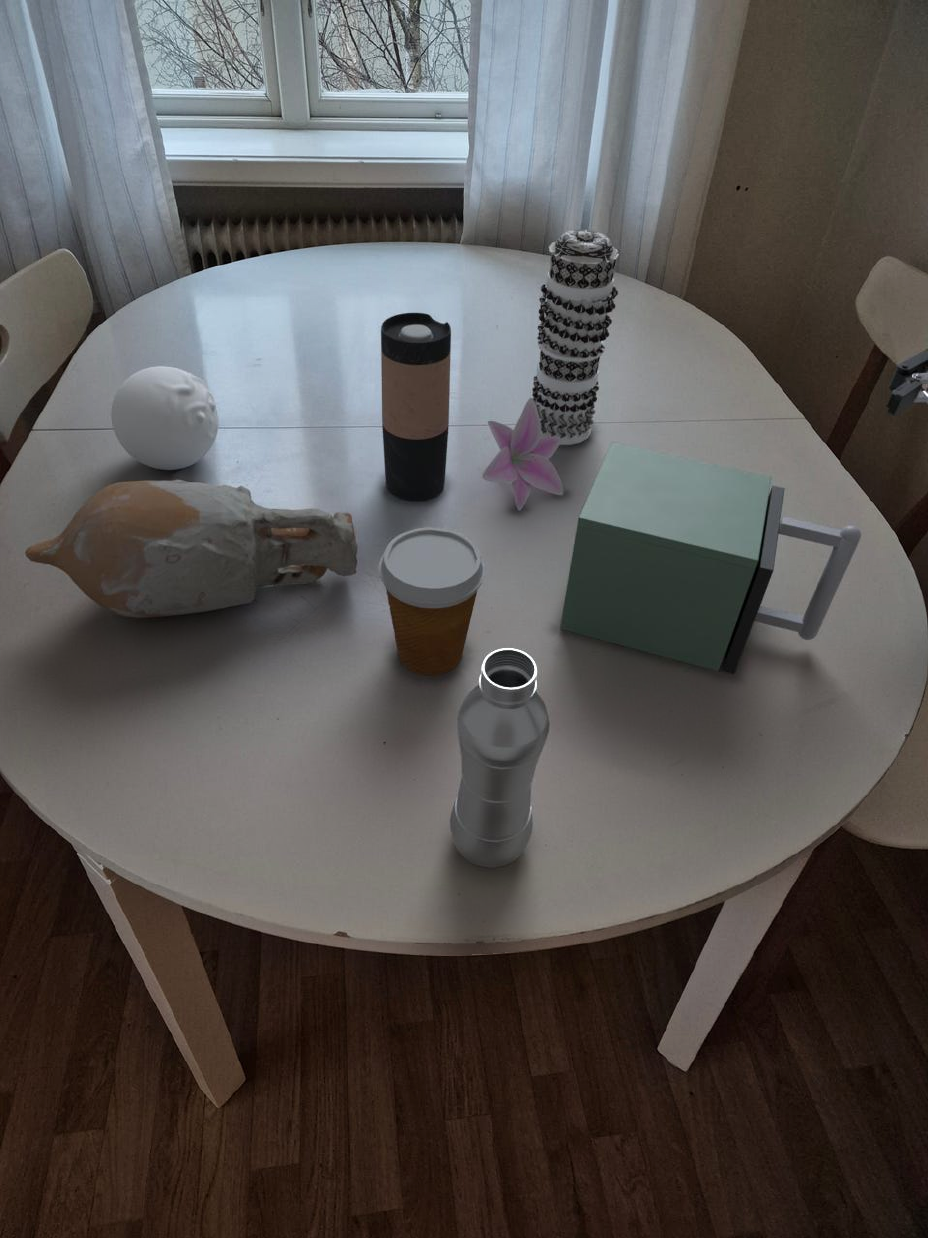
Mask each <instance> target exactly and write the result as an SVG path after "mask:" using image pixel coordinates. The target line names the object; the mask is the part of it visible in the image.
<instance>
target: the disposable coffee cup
mask: <svg viewBox="0 0 928 1238" xmlns="http://www.w3.org/2000/svg"><path fill="white" fill-rule="evenodd" d="M486 571H487V569H486V563H485V561H484V560H483V557H482V556H481V552H480V550H479V547H478V546H477V545H476V544H475V542H474V541H473V540H471V539H470V538H469V537H467V536H466V535H464V534H463V533H460V532H458V531H456V530H452V529H449V528H443V527H435V526H434V527H432V526H430V527H419V528H415V529H412V530H408V531H405V532H403V533H401V534H398V535H397V536H396V537H394V538H393V539H392V540H391V541H389V543H388V544H387V545H386V547H385V550H384V553H383V554H382V556H381V557H380V560H379V562H378V575H379V579H380V580H381V582H382V584H383V585H384V588H385V590H386V596H387V601H388V606H389V611H390V612H389V613H390V616H391V617H390V619H391V624H392V629H393V634H394V639H395V645H396V648H397V655H398V659H399V661H400V663H401V664H402V665H403V666H404V667H405V668H406V669H408V670H409V671H411V672H413V673H415V674H419V675H422V676H423V675H424V676H438V675H443V674H445V673H449V672H450V671H452V670H453V669H454V668H456V667H457V666H458V665H459V664H460V663H461V660H462V658H463V653H464V648H465V644H466V641H467V637H468V633H469V632H468V631H469V629H470V624H471V619H472V615H473V611H474V606H475V603H476V598H477V595H478V594H477V593H478V590H479V589H480V587H481V586H482V584H483V581H484V580H485V577H486Z"/></svg>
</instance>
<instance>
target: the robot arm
mask: <svg viewBox="0 0 928 1238" xmlns="http://www.w3.org/2000/svg"><path fill="white" fill-rule="evenodd" d="M923 385H928V348H925V349H924V350H922V351H920V352H918V353H917V354H914V355H912V356H911V357H909V358H907V359H905V360H903V361H901V362H900V363H898V364H897V367H896V368H895V371H894V373H893V376H892V378H891V380H890V382H889V385H888V386H887V387H888V390H889V391H891V393H890V395H889V396H890V397H889V398H888V401H887V403H886V408H888V410H887V414H888V415H890V416H892V417H894V418H895V417H896V416H898V415H900V414H901V413H902V412H904V411H905V410H907V409H908V408H909V407H911V406H913V405H914V403H926V404H927V405H928V386H927V387H926V388H925V389H924V390H921V389H922V388H923Z"/></svg>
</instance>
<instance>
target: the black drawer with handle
mask: <svg viewBox="0 0 928 1238" xmlns="http://www.w3.org/2000/svg"><path fill="white" fill-rule="evenodd" d="M785 490H786V489H785V487H782V486H781V487H780V486H776V485H772V486H771V487H770V490H769V497H768V503H767V509H766V515H765V522H764V528H763V534H762V540H761V547H760V553H759V559H758V563H757V566H756V568H755V571H754V574H753V577H752V580H751V582H750V585H749V588H748V591H747V594H746V596H745V599H744V602H743V605H742V608H741V610H740V613H739V616H738V619H737V621H736V624H735V627H734V630H733V633H732V635H731V638H730V641H729V644H728V647H727V649H726V652H725V655H724V658H723V661H722V668H721V671H722V672H723V673H728V674H732V675H735V673H736V671H737V668H738V666H739V663H740V660H741V657H742V655H743V652H744V650H745V647H746V645H747V642H748V639H749V636H750V634H751V631H752V629H753V627H754V623H755V622H756V623H761V624H764V625H769V626H773V627H777V628H780V629H783V630H789V631H791V632H796V633H798V635H799V637H800V638H801V639H803V640H805V641H810V640H811V641H812V640H813V639H815V638H816V637H817V636H818V633H819V631H820V629H821V627H822V624H823V621H824V620H825V617H826V615H827V613H828V611H829V609H830V606H831V604H832V602H833V600H834V598H835V596H836V594H837V590H838V589H839V586H840V585H841V582H842V580H843V578H844V576H845V574H846V571H847V569H848V567H849V565H850V563H851V561H852V558H853V556H854V554H855V552H856V549H857V547H858V545H859V543H860V540H861V538H862V533H861V532H862V531H861V530H860V528H859V527H857V526H856V525H852V524H851V525H850V524H849V525H846V526H844V527H842V528H841V529H839V528H835V527H829V526H826V525H822V524H817V523H813V522H808V521H804V520H800V519H795V518H792V517H787V516H782V511H783V504H784V496H785ZM779 535H782V536H786V537H790V538H794V539H799V540H803V541H808V542H812V543H816V544H821V545H825V546H829V547H832V550H831V552H830V554H829V555H828V556H829V557H828V559H827V561H826V563H825V566H824V568H823V571H822V573H821V575H820V577H819V580H818V582H817V585H816V587H815V589H814V592H813V594H812V596H811V599H810V600H809V603H808V606H807V608H806V610H805V612H804V615H803V616H802V615H800V614H799V615H798V614H795V613H790V612H787V611H783V610H779V609H774V608H770V607H766V606H763V605H762V602H763V599H764V597H765V595H766V591H767V588H768V586H769V584H770V581H771V579H772V576H773V573H774V571H775V563H776V555H777V547H778V539H779Z"/></svg>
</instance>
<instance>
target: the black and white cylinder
mask: <svg viewBox="0 0 928 1238" xmlns="http://www.w3.org/2000/svg"><path fill="white" fill-rule="evenodd" d="M548 249H549V253H550V254H551V257H550V261H549V262H550V265H549V271H548V272H547V275H546V284H542V285H541V286H540V291H541V292H542V295H541V296H540V297H539V299H538V300H539V303H540V305H539V306H540V308H539V309H538V314H539V315H538V320H539V321H540V324H539V325H538V326H537V330H538V333H537V334H538V336H537V337H536V339H537V346H538V349H539V350H540V352H539V361H538V363H537V364H536V365H537V366H536V374H535V375H534V376H533V383H532V384H533V387H532V397H531V398H532V399H533V400H534V402H535V404H536V407H537V410H538V414H539V418H540V423H541V436H554V437H558V438H560V439H561V442H560V445H559V446H573V445H576V444H581V443H582V442H584V441H586V440H587V439H589V437H590V435H591V433H592V427H591V426H592V425H594V420H593V419H594V416H593V415H595V413H596V410H595V403H596V402H597V401H598V397H597V392H598V391H599V390H600V386H599V381H598V380H599V374H600V371H599V365H600V359H601V357H602V356H603V354H604V353H605V351H606V346H605V342H604V341H606V340H607V338H608V337H610V332H609V329H608V328H609V327H610V325H612V322H613V320H612V319H611V317H610V315H609V313H612V312H613V310H615V308H616V303H615V301H614V299H616V297H617V296H618V294H619V291H618V289H617V287H616V286H614V283H615V279H614V274H615V267H616V261H617V258H618V257H619V255H620V254H619V251H618V249H617V248H616V247H614V246H613V245H612V242H611V239H610V238H609V237H608V236H607V235H606V234H603V233H601V232H598V231H595V230H590V229H571V230H568V231H565V232H563V233H562V234H561V235H560V237H559V238H557V240H555V241H553V242H551V244H550V245H549V246H548Z"/></svg>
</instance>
